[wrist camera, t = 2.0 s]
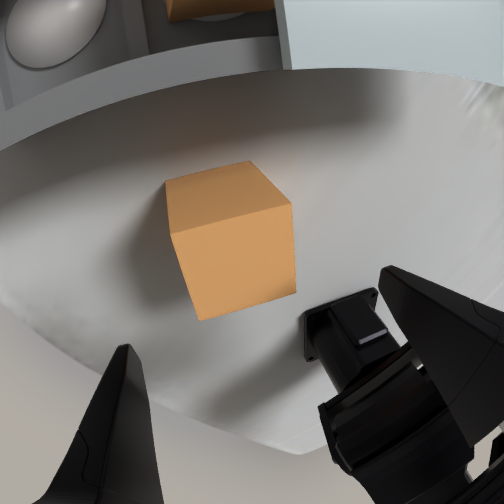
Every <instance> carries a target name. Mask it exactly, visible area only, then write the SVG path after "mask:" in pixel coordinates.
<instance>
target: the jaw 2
mask: <svg viewBox="0 0 504 504" xmlns="http://www.w3.org/2000/svg"><path fill="white" fill-rule="evenodd" d="M165 185H166V197H167V208H168V219H169V228H170V236H171V239H172V242H173V245H174V248H175V251H176V255H177V258H178V261H179V264H180V267H181V270H182V273H183V276H184V279H185V282H186V285H187V288H188V291H189V294H190V296H191V299H192V302H193V305H194V308H195V311H196V313H197V316H198V319H199V321H202V320H206V319H210V318H213V317H217V316H220V315H224V314H227V313H231V312H234V311H238V310H241V309H245V308H248V307H252V306H255V305H258V304H262V303H265V302H268V301H272V300H275V299H278V298H281V297H285V296H288V295H291V294H294V293H296V273H295V253H294V235H293V219H292V204H291V202H290V201H289V200H288V199H287V198H286V197H285V196H284V195H283V194H282V193H281V192H280V191H279V190H278V189H277V188H276V187H275V186H274V185H273V184H272V183H271V182H270V180H269V179H268V178H267V177H266V176H265V175H264V174H263V173H262V172H261V171H260V170H259V169H258V168H257V167H256V166H255V165H254V164H253V163H252V162H251V161H246V162H241V163H237V164H232V165H228V166H223V167H219V168H215V169H210V170H206V171H202V172H198V173H194V174H190V175H186V176H182V177H178V178H175V179H171V180H167V181H165Z"/></svg>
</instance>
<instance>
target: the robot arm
mask: <svg viewBox="0 0 504 504" xmlns="http://www.w3.org/2000/svg"><path fill="white" fill-rule="evenodd" d="M378 288H379V291H380V293H381V295H382V297H383V299H384V300H385V302H386V304H387V306H388V308H389V310H390V312H391V314H392V316H393V317H394V319H395V321H396V323H397V324H398V326H399V328H400V329H401V331H402V332H403V334H404V335H405V337H406V338H407V340H408V342H407V343H405V344H404V345H403V346H402V347H400V345H399V344H398V343H397V341H396V340H395V339H394V337H393V336H392V335H391V333H390V332H389V331H388V328H387V326H386V325H385V324H384V323H383V321H382V320H381V319H380V318H379V316H378V315H377V314H376V312H375V307H376V302H377V297H378V291H377V290H376V289H375V288H374V287H373V288H370V289H367V290H364V291H362V292H359V293H356V294H354V295H351V296H348V297H345V298H343V299H340V300H337V301H334V302H331V303H329V304H326V305H323V306H320V307H317V308H314V309H311V310H309V311H307V312H306V313H305V316H304V358H305V360H306V361H307V362H311V361H314V360H316V359H320V361H321V363H322V365H323V367H324V368H325V370H326V372H327V374H328V376H329V378H330V379H331V381H332V383H333V385H334V387H335V388H336V390H337V392H338V395H336V396H335V397H333V398H332V399H330V400H329V401H327V402H326V403H322V404H321V405H319V406H318V410H319V413H320V420H321V423H322V427H323V430H324V433H325V437H326V440H327V443H328V447H329V450H330V453H331V456H332V460H333V462H334V463H335V464H338V465H339V466H340V467H341V469H342V470H343V471H345V473H347V474H348V475H350V476H353V477H354V478H355V479H356V480H357V481H359V482H360V483H361V485H362V486H363V487H364V488H365V489H366V491H367V492H368V494H369V495H370V496H371V498H372V500H373V501H374V503H375V504H504V312H502V311H499V310H497V309H494V308H491V307H489V306H486V305H484V304H482V303H479V302H477V301H475V300H473V299H470V298H468V297H466V296H464V295H461V294H459V293H457V292H454V291H452V290H450V289H448V288H445V287H443V286H441V285H438V284H436V283H434V282H431V281H429V280H426V279H424V278H422V277H419V276H417V275H415V274H412V273H410V272H407V271H405V270H402V269H400V268H398V267H395V266H392V265H389V266H387V267H384V268H382V269H381V272H380V278H379V283H378ZM421 364H423V365H424V366H422V367H421V368H420V369H419V370H417V367H418V366H419V365H421ZM498 425H499V427H500V428H501V430H502V432H501V433H500V434H499V435H498V436H497V437H496V438H495V439H494V440H493V442H492V449H491V455H490V461H489V468H487V469H486V470H485V471H484V472H483V473H482V474H481V475H479V476H478V477H477V478H476V479H475V480H473V479H472V477H471V476H470V474H469V473H468V471H467V465H468V463H469V462H470V461H471V460H473V459H474V445H475V444H476V443H478V442H479V441H480V440H481V439H483V438H484V437H485V436H487V435H488V434H489V433H490V432H491V431H493V430H494V429H495V428H496V427H497V426H498ZM32 504H164V501H163V496H162V490H161V485H160V479H159V473H158V467H157V461H156V454H155V447H154V440H153V433H152V424H151V415H150V406H149V400H148V395H147V390H146V385H145V380H144V375H143V370H142V364H141V361H140V358H139V357H138V355H137V354H136V352H135V350H134V349H133V347H132V346H131V345H130V344H123V345H119V346H118V347H117V349H116V351H115V353H114V354H113V356H112V358H111V360H110V362H109V364H108V366H107V368H106V370H105V372H104V374H103V376H102V378H101V381H100V383H99V385H98V387H97V389H96V391H95V393H94V395H93V397H92V399H91V401H90V404H89V406H88V408H87V410H86V412H85V415H84V417H83V419H82V421H81V424H80V426H79V430H77V432H76V434H75V437H74V439H73V441H72V443H71V446H70V448H69V450H68V452H67V454H66V456H65V458H64V460H63V462H62V464H61V466H60V467H59V469H58V471H57V473H56V475H55V477H54V478H53V480H52V482H51V484H50V486H49V488H48V489H47V491H46V493H45V494H44V495H43V496H42V497H41V498H40V499H39V500H37V501H36V502H34V503H32Z"/></svg>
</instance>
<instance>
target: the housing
mask: <svg viewBox="0 0 504 504" xmlns="http://www.w3.org/2000/svg"><path fill="white" fill-rule="evenodd" d="M279 69H283V63H282V54H281V46H280V39H279V31H278V24H277V17H276V10H275V8H273V9H271V10H269V11H255V12H241V13H230V14H220V15H212V16H205V17H198V18H192V19H186V20H181V21H175V22H170V23H169V21H168V15H167V8H166V1H165V0H0V151H1V150H3V149H5V148H7V147H9V146H11V145H13V144H15V143H17V142H19V141H21V140H23V139H25V138H27V137H29V136H31V135H33V134H35V133H37V132H40V131H42V130H44V129H46V128H49V127H51V126H53V125H55V124H58V123H60V122H63V121H65V120H68V119H70V118H73V117H75V116H78V115H80V114H83V113H86V112H89V111H91V110H94V109H97V108H100V107H103V106H106V105H109V104H112V103H115V102H118V101H121V100H124V99H128V98H131V97H134V96H138V95H142V94H145V93H149V92H153V91H156V90H160V89H164V88H168V87H173V86H177V85H182V84H186V83H191V82H196V81H201V80H206V79H211V78H217V77H223V76H229V75H236V74H243V73H251V72H259V71H268V70H279Z"/></svg>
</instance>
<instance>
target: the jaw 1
mask: <svg viewBox="0 0 504 504" xmlns="http://www.w3.org/2000/svg"><path fill="white" fill-rule="evenodd" d="M165 1H166V8H167V15H168V21H169V23H170V22H175V21H181V20H186V19H192V18H198V17H205V16H212V15H220V14H230V13H241V12H255V11H269V10H271V9H273V8H275V3H274V0H165Z"/></svg>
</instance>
